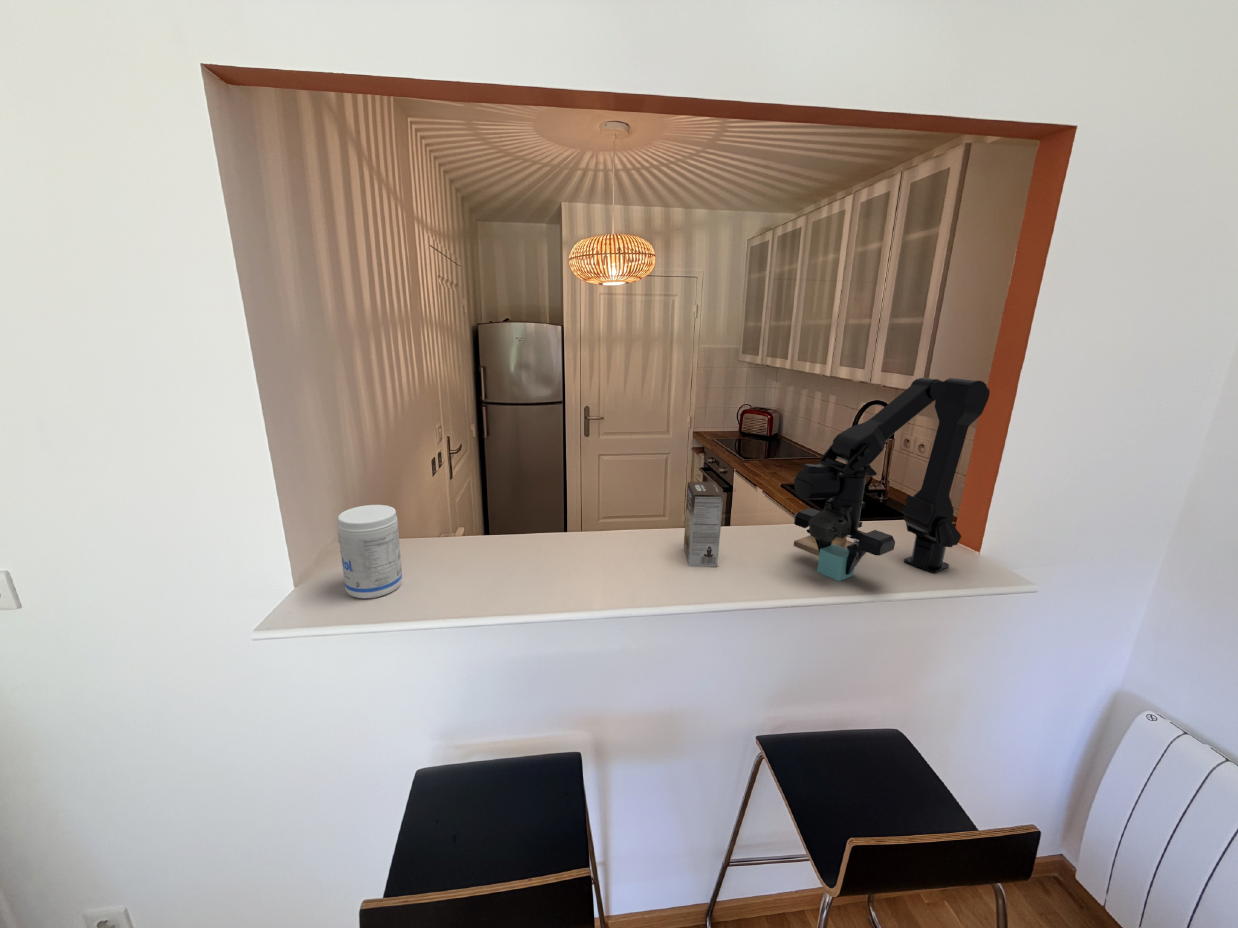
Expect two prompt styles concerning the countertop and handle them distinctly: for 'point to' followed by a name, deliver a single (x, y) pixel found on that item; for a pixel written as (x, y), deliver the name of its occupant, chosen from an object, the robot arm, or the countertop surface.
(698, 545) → the coffee box
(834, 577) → the teal block
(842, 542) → the oak block
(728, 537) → the countertop surface
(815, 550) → the walnut board
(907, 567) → the countertop surface
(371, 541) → the supplement tub
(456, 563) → the countertop surface
